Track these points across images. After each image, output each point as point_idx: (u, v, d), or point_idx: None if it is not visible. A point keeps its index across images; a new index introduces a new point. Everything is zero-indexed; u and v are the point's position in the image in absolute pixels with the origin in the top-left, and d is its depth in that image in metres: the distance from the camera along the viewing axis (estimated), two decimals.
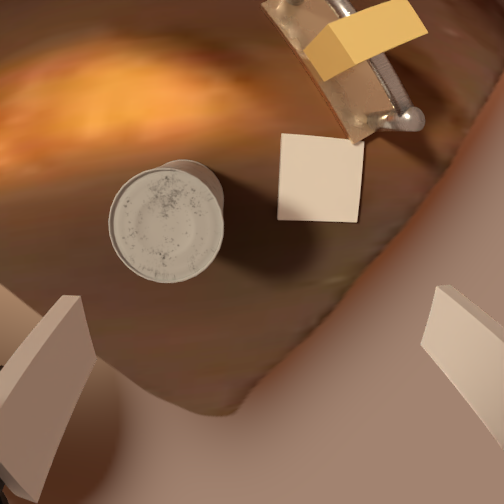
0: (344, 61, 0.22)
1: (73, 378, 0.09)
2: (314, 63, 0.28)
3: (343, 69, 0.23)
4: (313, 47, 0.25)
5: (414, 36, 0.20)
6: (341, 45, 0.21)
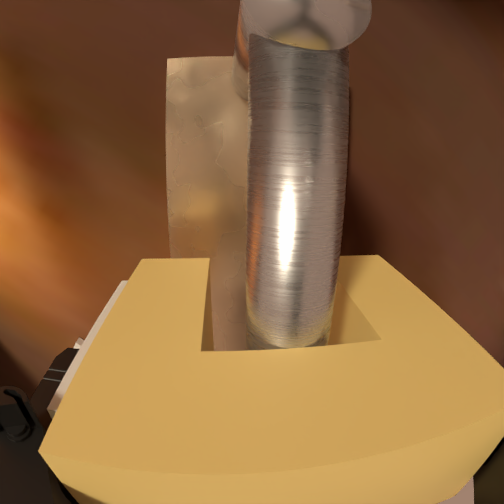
0: None
1: None
2: None
3: None
4: None
5: None
6: (83, 501, 0.04)
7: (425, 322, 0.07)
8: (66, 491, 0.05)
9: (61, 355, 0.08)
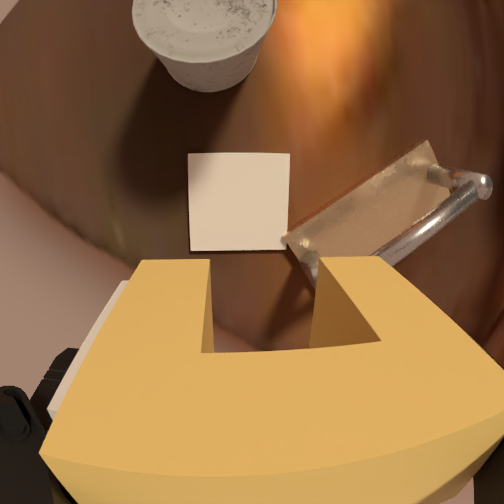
0: None
1: None
2: None
3: None
4: None
5: None
6: (84, 503, 0.04)
7: (425, 323, 0.07)
8: (66, 491, 0.05)
9: (61, 355, 0.08)
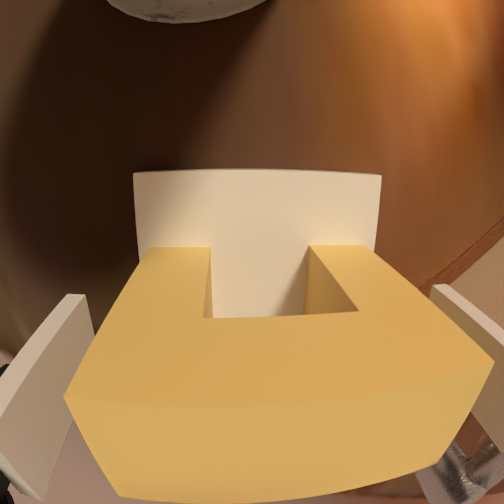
0: None
1: None
2: None
3: None
4: None
5: (386, 478, 0.07)
6: (96, 453, 0.06)
7: (400, 299, 0.09)
8: None
9: None
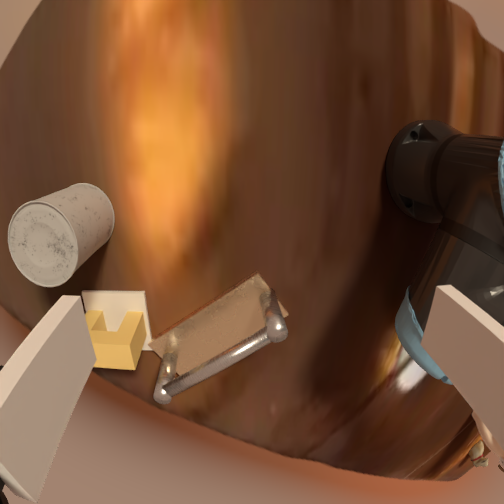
0: None
1: (73, 378, 0.09)
2: None
3: None
4: None
5: (121, 368, 0.38)
6: None
7: (128, 330, 0.40)
8: None
9: None
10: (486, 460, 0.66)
